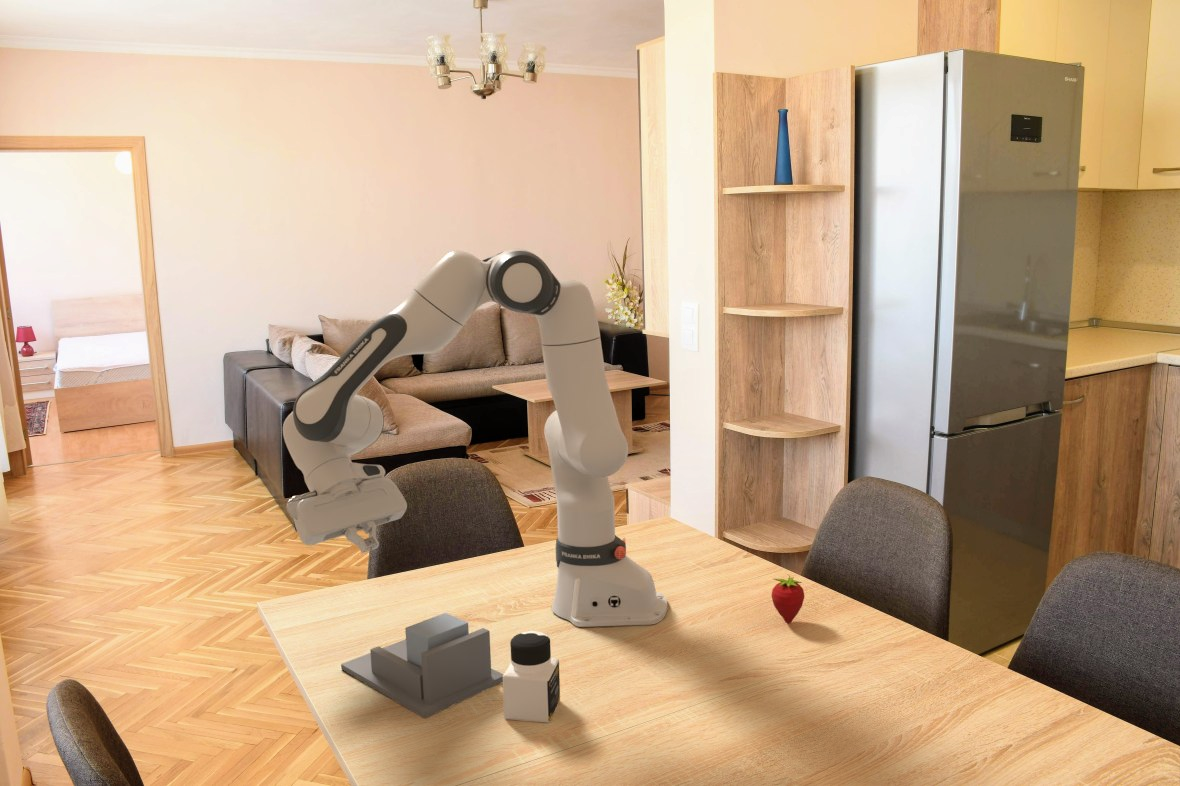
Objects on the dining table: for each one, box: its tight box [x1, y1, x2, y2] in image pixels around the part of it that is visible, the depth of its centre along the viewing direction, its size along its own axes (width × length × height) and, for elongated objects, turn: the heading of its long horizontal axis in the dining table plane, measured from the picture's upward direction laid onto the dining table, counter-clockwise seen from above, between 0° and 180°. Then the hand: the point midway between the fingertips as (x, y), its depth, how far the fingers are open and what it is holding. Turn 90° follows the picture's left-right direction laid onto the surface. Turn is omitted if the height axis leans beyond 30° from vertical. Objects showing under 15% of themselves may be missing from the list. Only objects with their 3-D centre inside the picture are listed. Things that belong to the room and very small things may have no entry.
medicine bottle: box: [502, 630, 561, 724], centre depth 140 cm, size 7×7×12 cm
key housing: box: [340, 627, 504, 719], centre depth 152 cm, size 24×16×9 cm, turn 46°
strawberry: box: [771, 575, 805, 624], centre depth 170 cm, size 6×8×10 cm
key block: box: [405, 612, 470, 669], centre depth 149 cm, size 6×8×9 cm
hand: (371, 549), depth 159 cm, fingers closed
